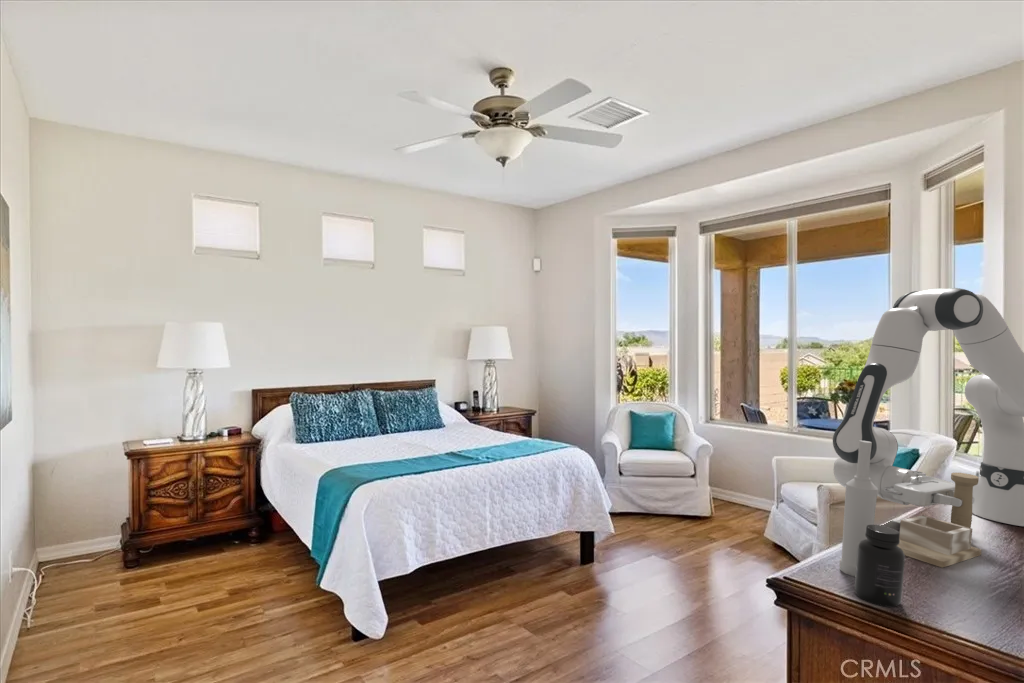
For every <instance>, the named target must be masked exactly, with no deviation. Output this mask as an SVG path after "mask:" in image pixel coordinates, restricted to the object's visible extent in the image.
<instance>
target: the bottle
mask: <svg viewBox="0 0 1024 683" xmlns="http://www.w3.org/2000/svg"><path fill="white" fill-rule="evenodd" d="M871 446H872V442H869V441H861V440H860V441H859V449H858V451H859V453H858V464H857V475H856V476H854V479H852V480H851V481H849V482H847V483H846V487H845V496H844V509H843V511H844V512H843V513H844V514H843V528H842V530H843V531H842V542H841V543H842V544H841V545H842V546H841V558H840V559H839V562H838V563H839V570H840V571H841V572H842V573H844V574H846V575H849V576H851V577H855V575H856V563H857V551H858V544H859V543H860V542H861V541H862V540H865V539H867V538H866V537H865V533H866V527H867V525H875V518H876V508H877V499H878V496H877V491H878V488H877V487H876V486H875V485H874V484H873V483H872V482H871V479H870V478H869V466H870V454H871Z"/></svg>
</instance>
